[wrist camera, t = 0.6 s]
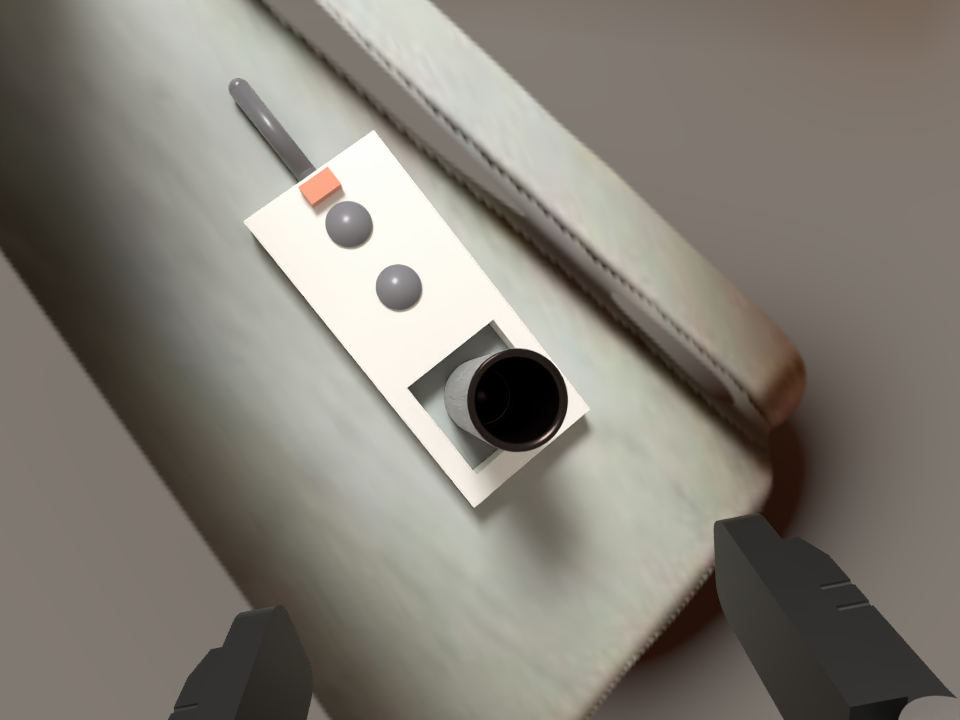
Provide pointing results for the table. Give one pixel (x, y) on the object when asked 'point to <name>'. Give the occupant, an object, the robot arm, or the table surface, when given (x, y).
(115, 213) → the table surface
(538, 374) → the planter
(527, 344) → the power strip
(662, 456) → the table surface
